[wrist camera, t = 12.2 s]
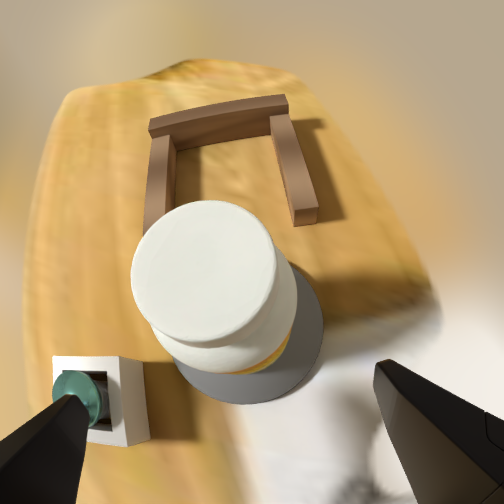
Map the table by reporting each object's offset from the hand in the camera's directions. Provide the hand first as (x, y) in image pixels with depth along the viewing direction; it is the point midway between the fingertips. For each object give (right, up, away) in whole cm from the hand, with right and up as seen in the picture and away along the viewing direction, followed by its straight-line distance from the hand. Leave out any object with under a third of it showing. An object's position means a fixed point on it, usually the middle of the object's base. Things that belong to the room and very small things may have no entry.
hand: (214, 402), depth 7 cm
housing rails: (-1, +10, +14) cm, 17 cm away
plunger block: (-8, -5, +8) cm, 12 cm away
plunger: (-8, -5, +8) cm, 12 cm away
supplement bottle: (0, 0, +9) cm, 9 cm away
